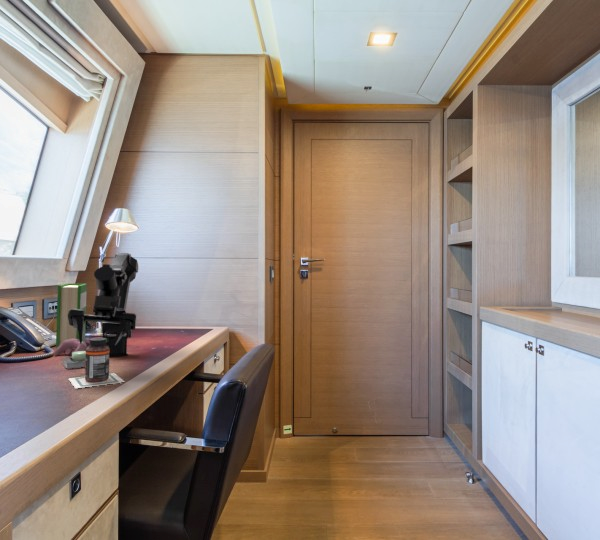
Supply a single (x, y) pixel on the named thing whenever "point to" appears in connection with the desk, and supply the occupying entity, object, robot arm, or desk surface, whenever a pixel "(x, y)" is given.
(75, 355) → the button
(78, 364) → the button housing
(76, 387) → the paper sheet
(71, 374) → the desk surface
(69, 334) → the hardback book
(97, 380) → the supplement bottle
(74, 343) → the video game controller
